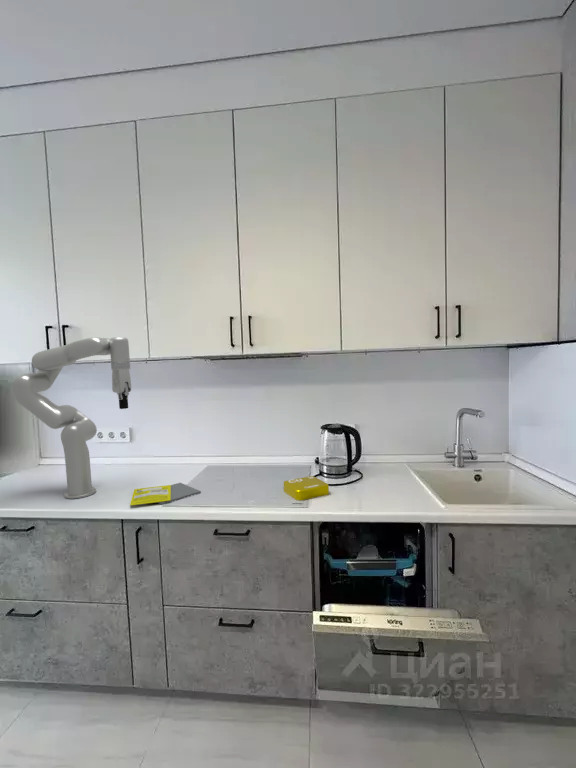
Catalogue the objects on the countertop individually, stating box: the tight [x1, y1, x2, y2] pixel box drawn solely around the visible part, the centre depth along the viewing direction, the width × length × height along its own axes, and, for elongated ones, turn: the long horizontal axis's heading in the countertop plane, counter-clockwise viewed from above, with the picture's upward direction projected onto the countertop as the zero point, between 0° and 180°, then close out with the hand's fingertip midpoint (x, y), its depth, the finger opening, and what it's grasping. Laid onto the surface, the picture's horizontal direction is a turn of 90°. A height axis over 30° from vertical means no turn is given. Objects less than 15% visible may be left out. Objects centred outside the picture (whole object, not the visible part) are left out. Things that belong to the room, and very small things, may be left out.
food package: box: [129, 484, 172, 506], centre depth 169 cm, size 15×1×20 cm
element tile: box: [283, 475, 330, 502], centre depth 167 cm, size 15×15×5 cm
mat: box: [155, 482, 202, 506], centre depth 172 cm, size 18×18×1 cm
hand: (123, 408), depth 174 cm, fingers closed
